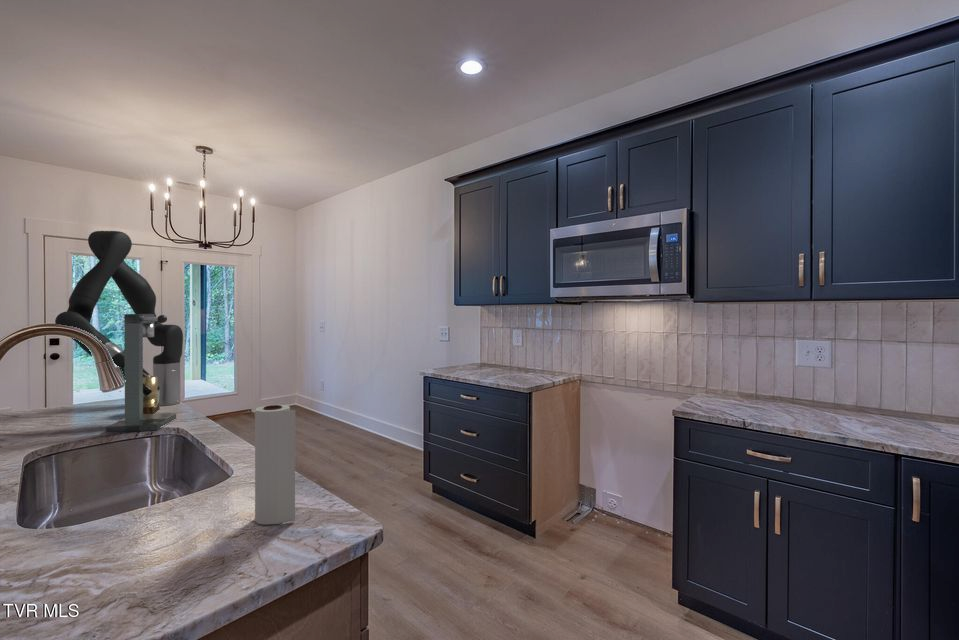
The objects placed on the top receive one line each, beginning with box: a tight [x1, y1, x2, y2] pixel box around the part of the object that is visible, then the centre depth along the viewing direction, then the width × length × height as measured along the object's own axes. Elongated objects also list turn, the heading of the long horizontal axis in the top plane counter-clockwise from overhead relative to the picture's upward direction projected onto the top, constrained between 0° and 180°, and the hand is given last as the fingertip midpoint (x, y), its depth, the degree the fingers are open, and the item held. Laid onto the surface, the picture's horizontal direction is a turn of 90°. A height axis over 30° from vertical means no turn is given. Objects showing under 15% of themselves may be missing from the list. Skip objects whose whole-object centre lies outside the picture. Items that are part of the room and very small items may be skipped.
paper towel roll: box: [254, 404, 296, 526], centre depth 82 cm, size 7×6×21 cm
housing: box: [143, 374, 158, 408], centre depth 150 cm, size 6×6×11 cm
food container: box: [143, 385, 161, 414], centre depth 163 cm, size 12×6×10 cm, turn 25°
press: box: [105, 313, 177, 433], centre depth 147 cm, size 15×16×38 cm
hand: (153, 392), depth 150 cm, fingers closed on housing, 5 cm apart
